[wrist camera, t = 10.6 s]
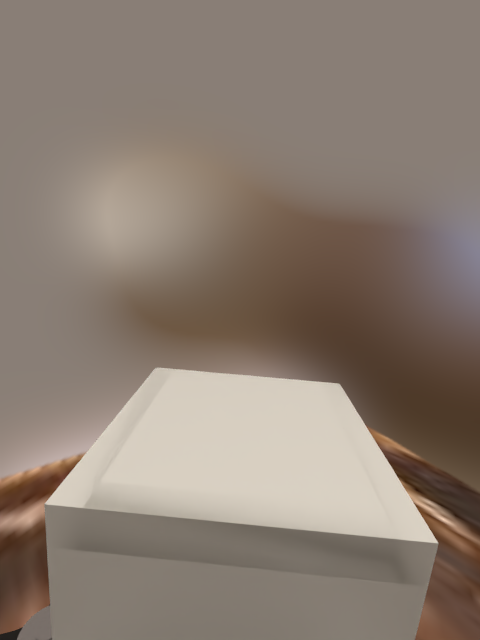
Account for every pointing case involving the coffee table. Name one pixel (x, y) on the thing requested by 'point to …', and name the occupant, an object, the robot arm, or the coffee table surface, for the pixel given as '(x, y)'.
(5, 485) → the coffee table surface
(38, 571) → the coffee table surface
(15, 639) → the robot arm
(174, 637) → the cream box
